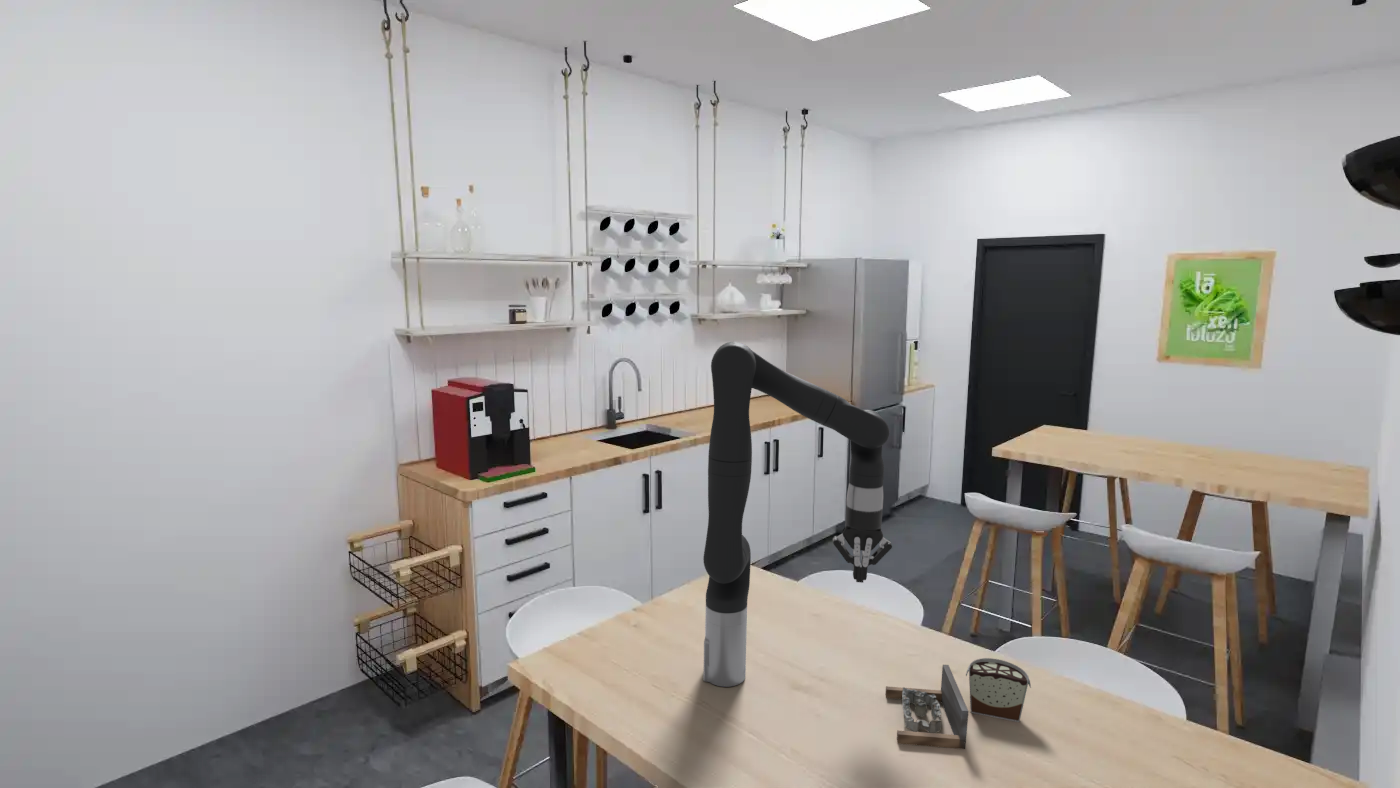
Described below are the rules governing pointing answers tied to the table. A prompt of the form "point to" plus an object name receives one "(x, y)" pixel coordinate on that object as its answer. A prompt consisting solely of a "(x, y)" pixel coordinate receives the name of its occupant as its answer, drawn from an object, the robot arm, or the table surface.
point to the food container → (997, 688)
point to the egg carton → (921, 710)
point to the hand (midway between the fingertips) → (859, 580)
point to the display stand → (953, 710)
